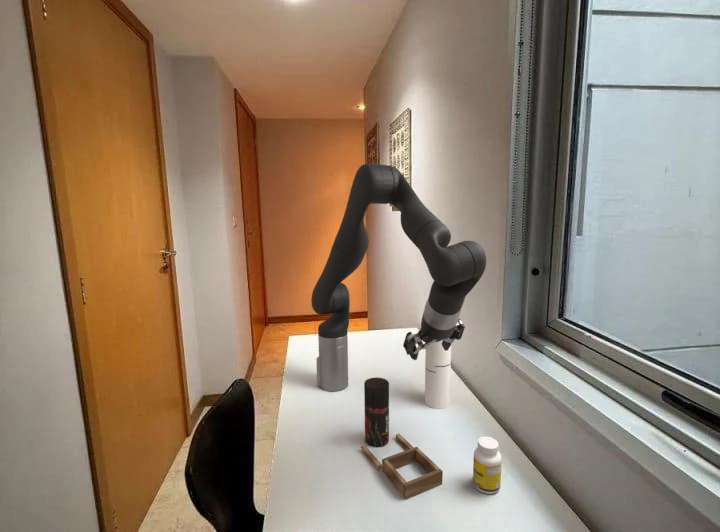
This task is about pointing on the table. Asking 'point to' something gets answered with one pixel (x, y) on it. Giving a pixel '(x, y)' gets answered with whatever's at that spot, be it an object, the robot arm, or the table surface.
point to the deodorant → (376, 412)
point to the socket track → (403, 459)
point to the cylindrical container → (437, 376)
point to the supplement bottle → (487, 466)
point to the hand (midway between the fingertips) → (429, 352)
